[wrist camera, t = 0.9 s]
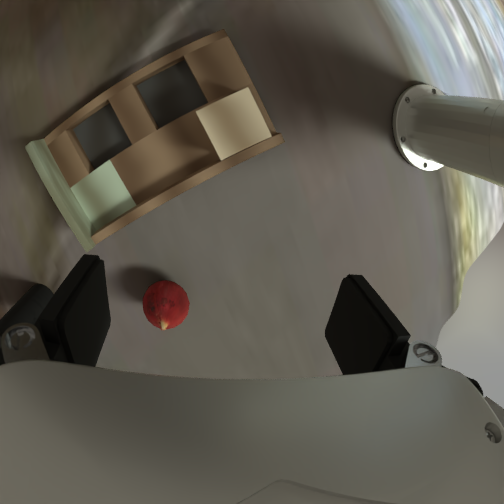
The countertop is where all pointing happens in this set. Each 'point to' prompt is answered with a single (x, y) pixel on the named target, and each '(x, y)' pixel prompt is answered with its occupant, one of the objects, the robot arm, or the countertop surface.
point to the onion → (165, 304)
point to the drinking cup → (27, 308)
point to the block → (234, 123)
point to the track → (143, 140)
